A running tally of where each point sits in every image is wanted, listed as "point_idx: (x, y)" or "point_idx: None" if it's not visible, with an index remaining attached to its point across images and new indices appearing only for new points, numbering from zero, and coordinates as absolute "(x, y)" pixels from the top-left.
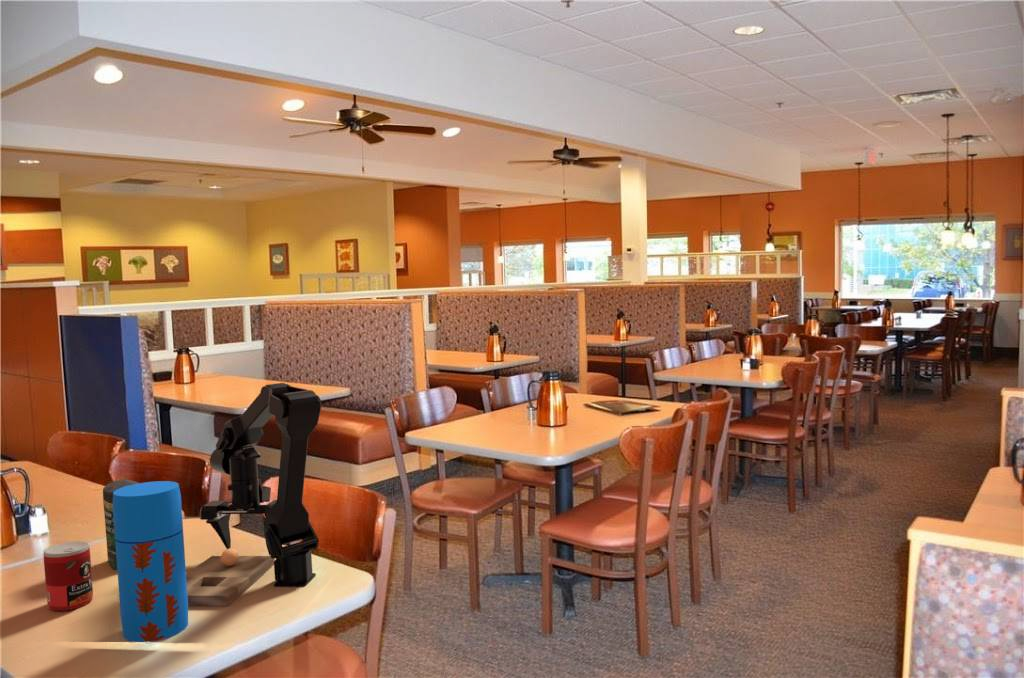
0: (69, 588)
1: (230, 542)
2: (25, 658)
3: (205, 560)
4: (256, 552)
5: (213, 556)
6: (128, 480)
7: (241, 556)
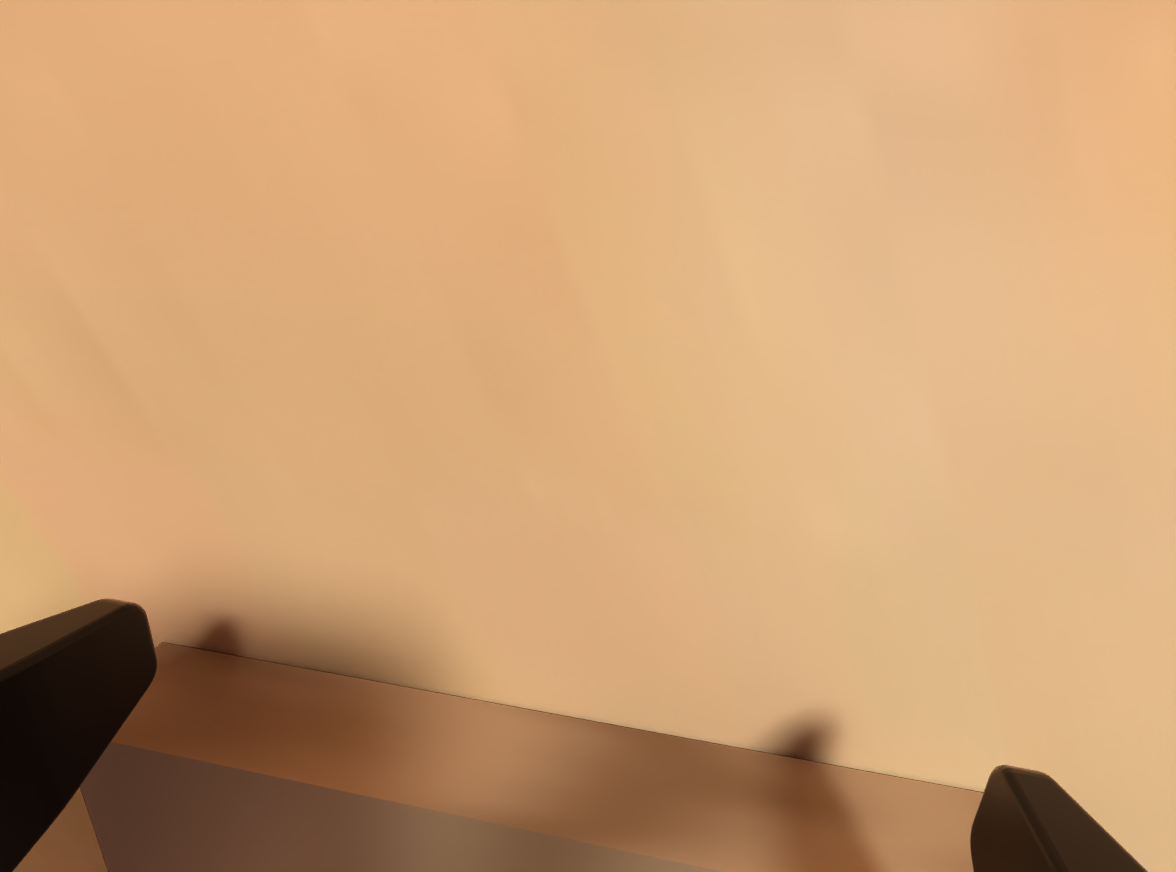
0: None
1: (51, 661)
2: None
3: (108, 869)
4: (520, 129)
5: None
6: None
7: (520, 852)
